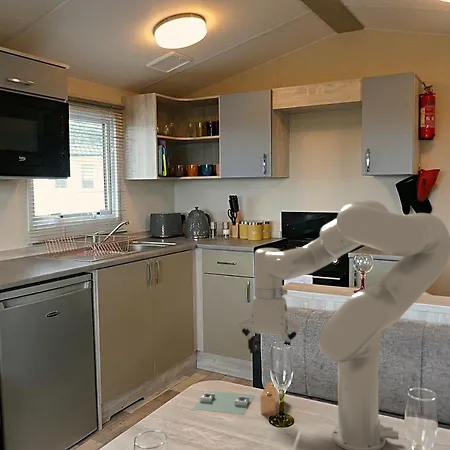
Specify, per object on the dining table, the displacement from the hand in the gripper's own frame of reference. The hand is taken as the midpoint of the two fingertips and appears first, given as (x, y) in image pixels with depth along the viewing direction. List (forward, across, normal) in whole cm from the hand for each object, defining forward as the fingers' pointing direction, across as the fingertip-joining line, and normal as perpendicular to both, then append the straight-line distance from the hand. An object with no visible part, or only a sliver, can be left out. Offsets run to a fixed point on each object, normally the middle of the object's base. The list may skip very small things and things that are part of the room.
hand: (269, 353), depth 139 cm
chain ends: (+16, +13, 0) cm, 20 cm away
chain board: (+16, +13, 0) cm, 21 cm away
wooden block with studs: (+16, -1, 0) cm, 16 cm away
